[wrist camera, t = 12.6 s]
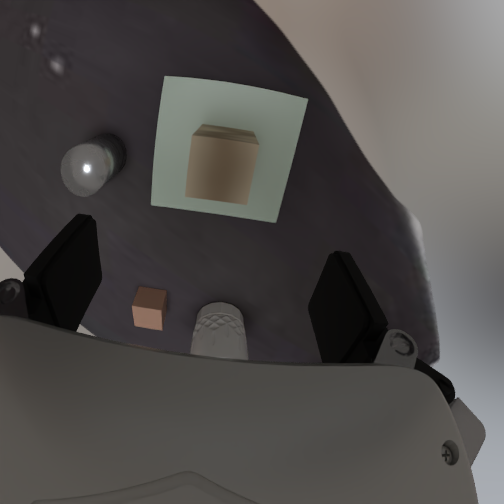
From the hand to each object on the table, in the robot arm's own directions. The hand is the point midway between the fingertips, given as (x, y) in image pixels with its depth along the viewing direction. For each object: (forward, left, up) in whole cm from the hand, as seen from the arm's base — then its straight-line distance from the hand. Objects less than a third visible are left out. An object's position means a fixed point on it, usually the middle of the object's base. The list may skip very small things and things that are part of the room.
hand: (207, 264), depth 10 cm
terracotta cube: (+7, +22, -20) cm, 31 cm away
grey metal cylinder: (+13, +2, -20) cm, 24 cm away
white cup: (-3, +24, -20) cm, 31 cm away
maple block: (0, 0, -19) cm, 19 cm away
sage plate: (0, 0, -20) cm, 20 cm away
